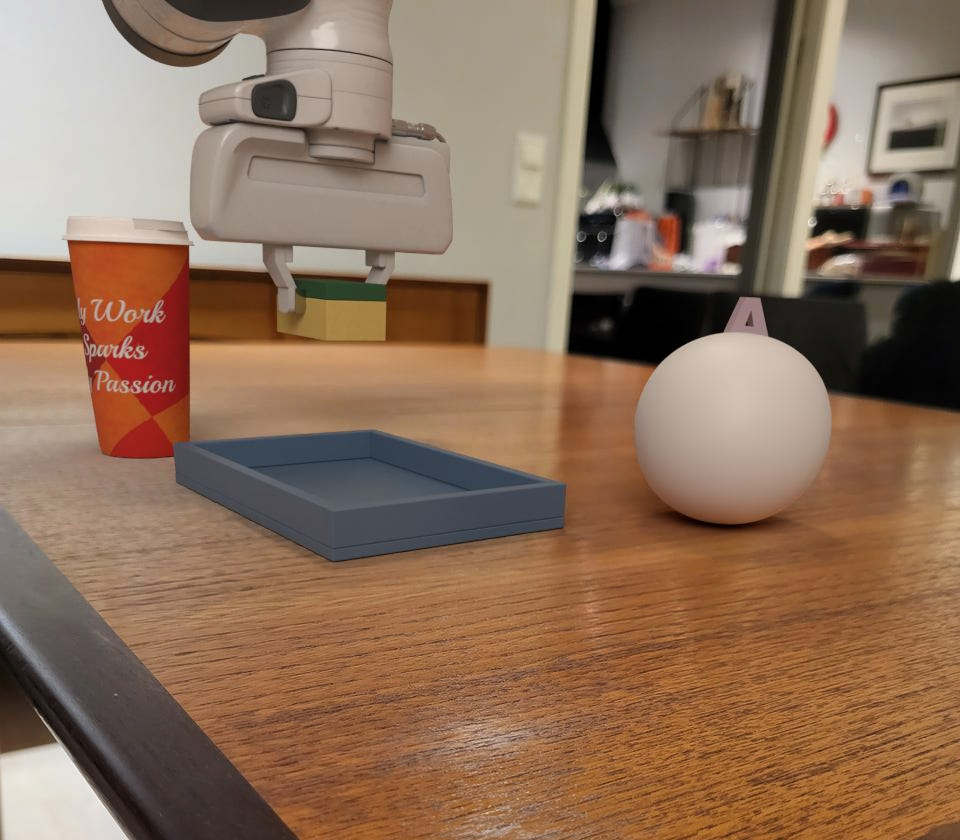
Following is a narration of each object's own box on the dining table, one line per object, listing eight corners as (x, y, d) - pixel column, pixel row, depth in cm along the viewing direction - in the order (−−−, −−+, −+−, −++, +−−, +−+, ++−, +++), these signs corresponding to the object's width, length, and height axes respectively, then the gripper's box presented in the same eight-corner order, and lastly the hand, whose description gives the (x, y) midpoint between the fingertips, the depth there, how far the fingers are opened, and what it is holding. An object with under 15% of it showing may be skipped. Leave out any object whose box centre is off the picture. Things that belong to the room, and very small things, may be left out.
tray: (175, 481, 61) (172, 442, 60) (374, 464, 69) (374, 428, 68) (332, 562, 46) (332, 511, 45) (563, 527, 54) (567, 483, 53)
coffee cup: (56, 454, 68) (30, 213, 62) (130, 437, 75) (112, 220, 70) (164, 465, 65) (146, 217, 60) (229, 446, 73) (218, 224, 68)
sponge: (277, 331, 78) (276, 277, 76) (333, 332, 81) (333, 279, 79) (326, 341, 72) (326, 282, 71) (385, 341, 75) (386, 284, 73)
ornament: (725, 495, 63) (750, 295, 59) (853, 534, 55) (893, 304, 51) (592, 508, 58) (609, 291, 54) (710, 552, 50) (742, 300, 46)
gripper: (427, 130, 79) (421, 313, 84) (175, 93, 67) (185, 308, 72) (474, 124, 74) (465, 318, 79) (212, 83, 63) (220, 314, 68)
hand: (329, 313), depth 76 cm, fingers closed on sponge, 5 cm apart
